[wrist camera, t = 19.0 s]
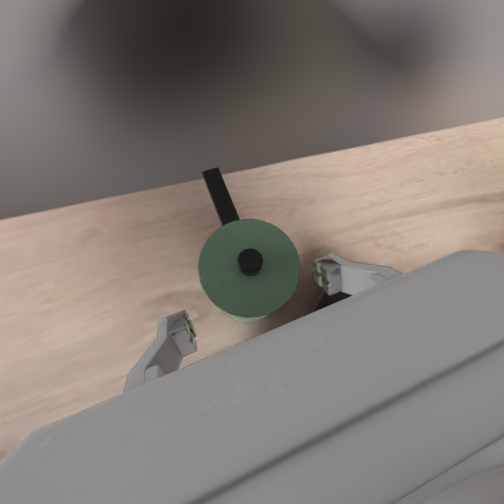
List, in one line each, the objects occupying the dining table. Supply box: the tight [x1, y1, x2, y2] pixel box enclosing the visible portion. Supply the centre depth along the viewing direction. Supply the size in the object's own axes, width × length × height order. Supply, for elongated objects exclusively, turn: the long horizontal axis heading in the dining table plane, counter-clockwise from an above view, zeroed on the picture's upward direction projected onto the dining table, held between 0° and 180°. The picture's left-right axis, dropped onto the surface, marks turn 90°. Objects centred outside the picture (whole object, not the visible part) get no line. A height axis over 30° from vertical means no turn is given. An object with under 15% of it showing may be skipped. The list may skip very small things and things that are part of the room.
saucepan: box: [198, 168, 300, 322], centre depth 17 cm, size 9×8×8 cm
